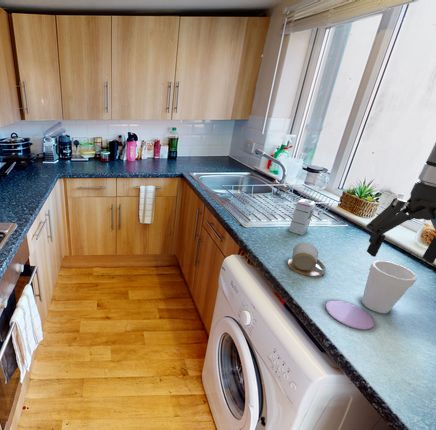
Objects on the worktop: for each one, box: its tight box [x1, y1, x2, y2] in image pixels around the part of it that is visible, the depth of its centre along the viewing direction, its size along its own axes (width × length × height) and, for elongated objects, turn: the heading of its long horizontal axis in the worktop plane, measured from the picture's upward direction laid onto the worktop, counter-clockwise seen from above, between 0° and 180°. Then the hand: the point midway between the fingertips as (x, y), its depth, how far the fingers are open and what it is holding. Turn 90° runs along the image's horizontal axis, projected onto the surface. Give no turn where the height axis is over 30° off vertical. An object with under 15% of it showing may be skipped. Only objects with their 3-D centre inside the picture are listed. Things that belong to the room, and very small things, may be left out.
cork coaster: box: [287, 258, 324, 278], centre depth 103 cm, size 11×11×1 cm
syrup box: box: [288, 198, 317, 236], centre depth 125 cm, size 6×6×14 cm
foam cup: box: [361, 259, 418, 314], centre depth 83 cm, size 10×9×13 cm
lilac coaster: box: [325, 300, 375, 331], centre depth 82 cm, size 11×11×1 cm
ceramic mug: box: [291, 242, 327, 274], centre depth 101 cm, size 11×8×8 cm
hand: (398, 257), depth 78 cm, fingers open, 13 cm apart
